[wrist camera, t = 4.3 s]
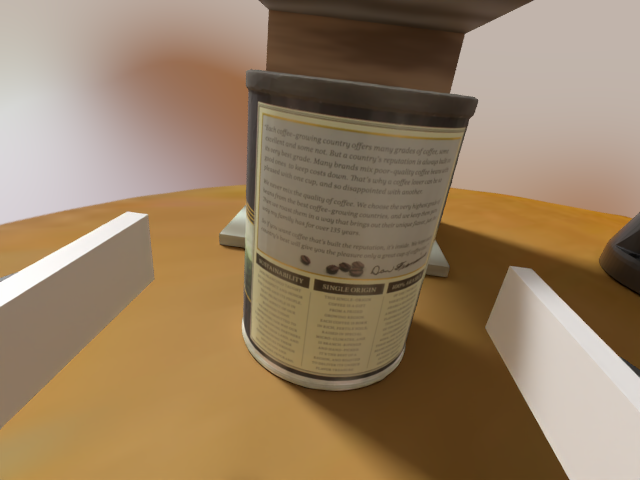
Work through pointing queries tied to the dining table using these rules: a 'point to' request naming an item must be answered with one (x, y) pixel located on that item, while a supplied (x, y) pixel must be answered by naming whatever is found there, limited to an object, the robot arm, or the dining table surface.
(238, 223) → the brown piece
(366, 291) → the coffee can
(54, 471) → the dining table surface
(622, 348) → the dining table surface
